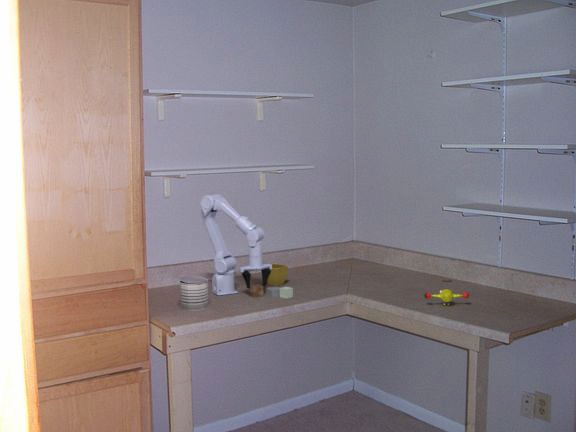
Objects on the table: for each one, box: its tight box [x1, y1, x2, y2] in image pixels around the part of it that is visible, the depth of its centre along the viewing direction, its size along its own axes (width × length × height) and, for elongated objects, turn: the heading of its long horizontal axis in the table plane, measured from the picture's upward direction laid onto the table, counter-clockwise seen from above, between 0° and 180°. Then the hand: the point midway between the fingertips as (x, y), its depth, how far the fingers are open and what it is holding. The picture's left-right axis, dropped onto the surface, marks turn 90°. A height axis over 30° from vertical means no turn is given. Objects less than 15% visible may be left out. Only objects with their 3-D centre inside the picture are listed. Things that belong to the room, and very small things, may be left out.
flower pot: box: [267, 263, 289, 287], centre depth 294 cm, size 9×9×9 cm
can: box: [179, 275, 209, 312], centre depth 255 cm, size 11×11×12 cm
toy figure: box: [424, 288, 470, 307], centre depth 255 cm, size 18×6×7 cm, turn 90°
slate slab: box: [265, 286, 281, 298], centre depth 276 cm, size 6×6×3 cm
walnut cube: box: [248, 284, 264, 299], centre depth 274 cm, size 4×4×4 cm
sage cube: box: [279, 286, 294, 299], centre depth 272 cm, size 4×4×4 cm
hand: (256, 286), depth 273 cm, fingers open, 7 cm apart
